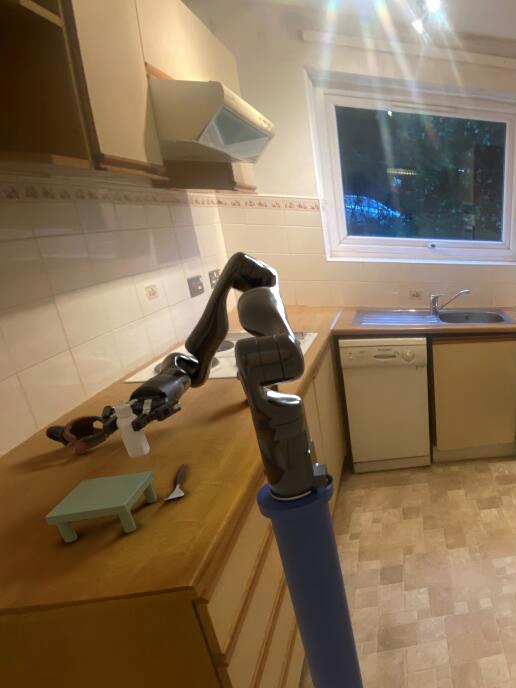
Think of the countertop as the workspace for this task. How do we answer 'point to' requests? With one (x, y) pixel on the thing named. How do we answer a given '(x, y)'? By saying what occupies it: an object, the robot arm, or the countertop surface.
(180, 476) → the fork
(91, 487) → the stool
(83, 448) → the pottery mug
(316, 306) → the countertop surface
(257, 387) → the robot arm
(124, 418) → the eye dropper bottle
